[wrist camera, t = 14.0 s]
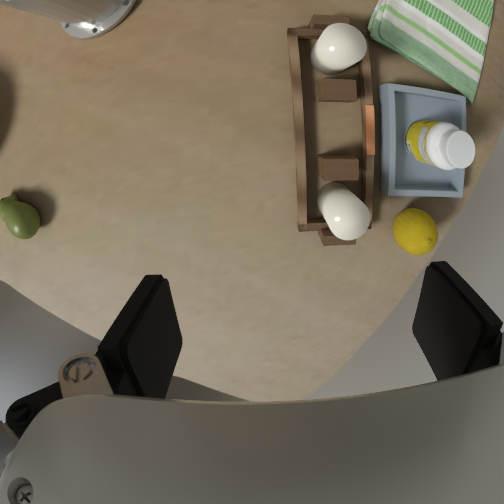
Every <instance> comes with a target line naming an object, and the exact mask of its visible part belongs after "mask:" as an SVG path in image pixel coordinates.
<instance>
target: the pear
mask: <svg viewBox="0 0 504 504" xmlns="http://www.w3.org/2000/svg"><path fill="white" fill-rule="evenodd" d="M0 217H1V218H2V220H3V221H5V223H6V225H7V227H8V229H9V231H10V232H11V233H12V234H13V235H14V236H16V237H18V238H20V239H29V238H31V237H33V236H34V235H35V234H36V232H37V231H38V229H39V226H40V217H39V214H38V212H37V210H36V209H35V208H34V207H32V206H31V205H29V204H27V203H24V202H18V198H17V196H16V195H11V196H9V197H5V198H2V199H1V201H0Z"/></svg>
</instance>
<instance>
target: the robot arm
mask: <svg viewBox="0 0 504 504" xmlns="http://www.w3.org/2000/svg"><path fill="white" fill-rule="evenodd" d="M135 2H136V0H0V5H2V6H7V7H11V8H15V9H19V10H23V11H27V12H31V13H35V14H38V15H42V16H45V17H48V18H52V19H55V20H58V21H61V25H62V27H63V29H64V31H65V32H66V33H67V34H68V35H70V36H72V37H75V38H79V39H89V38H94V37H97V36H100V35H102V34H104V33H106V32H108V31H109V30H111V29H112V28H114V27H115V26H116V25H118V24H119V23H120V22H121V21H122V20H123V19H124V18H125V17H126V16H127V15H128V13H129V12H130V10H131V9H132V8H133V6H134V4H135ZM502 325H503V322H502V321H501V320H500V319H499V318H498V316H497V315H496V314H495V313H494V312H493V311H492V309H491V308H490V307H489V306H488V305H487V304H486V303H485V302H484V300H483V299H482V298H481V297H480V296H479V295H478V294H477V293H476V292H475V291H474V290H473V289H472V287H471V286H470V285H469V284H468V283H467V282H466V281H465V280H464V279H463V278H462V277H461V276H460V275H459V274H458V273H457V272H456V271H455V270H454V269H453V268H452V267H451V266H450V265H449V264H448V263H447V262H446V261H438V262H431V263H430V265H429V266H427V268H426V270H425V275H424V280H423V284H422V289H421V293H420V298H419V302H418V306H417V310H416V314H415V318H414V322H413V327H412V330H413V334H414V336H415V338H416V340H417V342H418V343H419V345H420V347H421V349H422V351H423V353H424V355H425V356H426V359H427V360H428V362H429V364H430V366H431V368H432V370H433V372H434V374H435V376H436V378H437V380H438V381H435V382H431V383H426V384H421V385H416V386H411V387H405V388H400V389H394V390H388V391H382V392H375V393H369V394H362V395H353V396H345V397H335V398H325V399H313V400H298V401H276V402H212V401H211V402H210V401H190V400H173V399H165V396H166V393H167V390H168V387H169V384H170V381H171V378H172V375H173V372H174V369H175V366H176V363H177V360H178V357H179V354H180V351H181V348H182V335H181V332H180V328H179V324H178V320H177V316H176V312H175V308H174V303H173V299H172V295H171V291H170V286H169V282H168V280H167V279H164V278H163V276H162V275H146V276H145V277H144V278H143V279H142V281H141V282H140V284H139V285H138V287H137V288H136V290H135V291H134V292H133V294H132V295H131V297H130V298H129V300H128V301H127V303H126V304H125V306H124V307H123V309H122V310H121V312H120V313H119V315H118V316H117V318H116V319H115V321H114V323H113V324H112V326H111V327H110V329H109V330H108V332H107V333H106V335H105V337H104V338H103V340H102V341H101V343H100V345H99V346H98V351H97V352H96V354H95V356H94V355H92V354H88V353H84V354H78V355H75V356H73V357H71V358H69V359H68V360H66V361H65V362H64V363H63V364H62V366H61V367H60V369H59V372H58V378H59V382H57V383H54V384H52V385H50V386H48V387H46V388H43V389H41V390H39V391H37V392H34V393H32V394H30V395H27V396H25V397H23V398H20V399H18V400H17V401H15V402H14V403H13V404H12V405H11V406H10V407H9V409H8V410H7V413H6V422H5V423H3V422H2V421H0V504H504V332H503V334H502V333H501V331H500V329H501V327H502Z"/></svg>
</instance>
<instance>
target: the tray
mask: <svg viewBox="0 0 504 504" xmlns="http://www.w3.org/2000/svg"><path fill="white" fill-rule="evenodd" d="M379 96H380V121H381V173H380V191H382V192H383V193H385V194H386V195H388V196H429V197H461V198H462V196H463V186H464V174H465V168H463V169H460V168H455V169H453V170H443V169H440V168H438V167H435V166H432V165H429V164H426V163H423V162H420V161H417V160H415V159H414V158H412V157H411V156H410V155H409V154H408V152H407V151H406V148H405V145H404V134H405V131H406V129H407V127H408V126H409V125H410V124H411V123H412V122H414V121H418V120H425V121H438V122H448V123H451V124H453V125H455V126H456V127H458V128H459V129H460V130H462V131H465V132H466V97H465V96H461V95H457V94H452V93H447V92H442V91H437V90H432V89H426V88H420V87H413V86H406V85H399V84H391V83H386V84H382V85H379Z"/></svg>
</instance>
